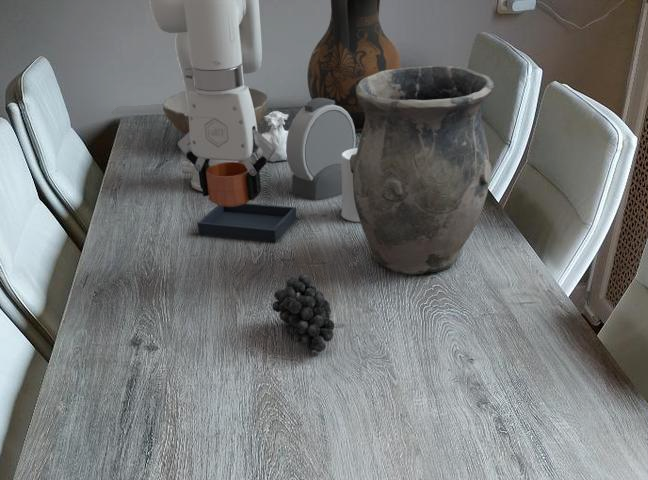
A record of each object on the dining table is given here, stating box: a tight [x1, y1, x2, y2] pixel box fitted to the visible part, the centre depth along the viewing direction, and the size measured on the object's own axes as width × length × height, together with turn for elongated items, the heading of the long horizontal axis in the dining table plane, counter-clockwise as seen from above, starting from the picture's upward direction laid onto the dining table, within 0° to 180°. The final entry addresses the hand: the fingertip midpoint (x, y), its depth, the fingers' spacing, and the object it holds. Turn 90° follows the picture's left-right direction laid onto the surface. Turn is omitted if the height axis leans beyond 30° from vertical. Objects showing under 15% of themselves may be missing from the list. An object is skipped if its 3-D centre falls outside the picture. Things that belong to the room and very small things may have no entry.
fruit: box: [271, 274, 335, 353], centre depth 121 cm, size 9×8×15 cm
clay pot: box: [350, 65, 495, 276], centre depth 136 cm, size 22×23×30 cm
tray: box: [197, 202, 297, 243], centre depth 159 cm, size 16×12×2 cm
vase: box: [306, 0, 402, 133], centre depth 201 cm, size 24×24×35 cm
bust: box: [255, 110, 289, 163], centre depth 190 cm, size 12×8×11 cm
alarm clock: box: [286, 98, 357, 201], centre depth 169 cm, size 16×10×18 cm, turn 134°
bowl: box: [162, 87, 269, 136], centre depth 201 cm, size 26×26×10 cm
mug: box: [340, 147, 361, 223], centre depth 159 cm, size 12×8×12 cm
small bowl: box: [206, 161, 251, 207], centre depth 130 cm, size 7×7×5 cm
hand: (231, 194), depth 131 cm, fingers closed on small bowl, 7 cm apart
